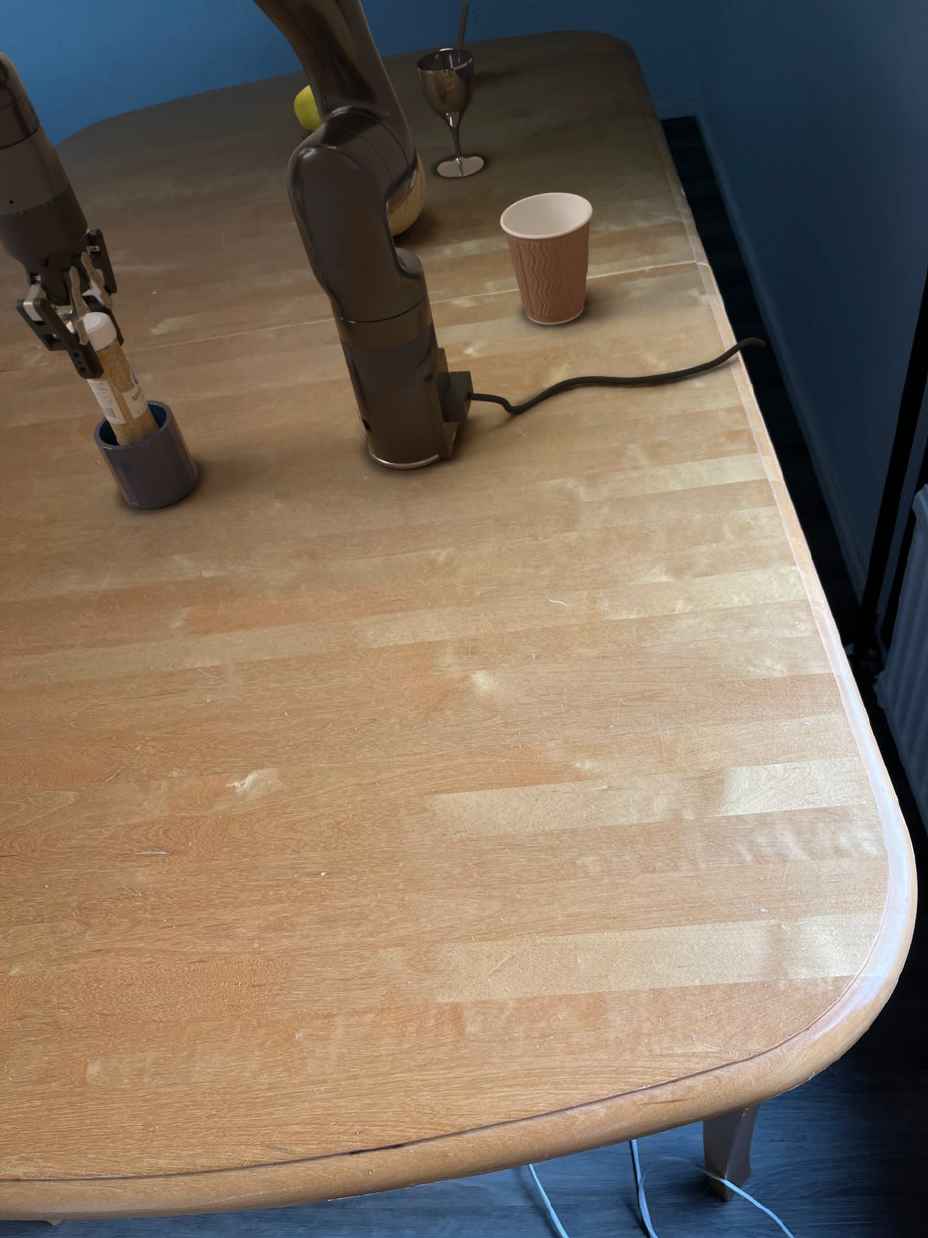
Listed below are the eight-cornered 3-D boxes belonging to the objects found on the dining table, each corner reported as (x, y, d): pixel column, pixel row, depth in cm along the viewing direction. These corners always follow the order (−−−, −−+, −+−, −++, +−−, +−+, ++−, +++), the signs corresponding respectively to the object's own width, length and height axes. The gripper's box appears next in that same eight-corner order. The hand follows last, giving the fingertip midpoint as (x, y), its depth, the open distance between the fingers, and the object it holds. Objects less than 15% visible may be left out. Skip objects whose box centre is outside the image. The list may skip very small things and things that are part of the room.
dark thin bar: (428, 101, 174) (415, 23, 165) (424, 88, 178) (411, 11, 169) (482, 89, 173) (473, 11, 165) (477, 76, 178) (467, 0, 169)
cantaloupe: (373, 272, 135) (347, 159, 125) (310, 243, 144) (281, 134, 133) (456, 226, 141) (438, 114, 130) (391, 200, 149) (369, 93, 139)
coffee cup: (615, 300, 122) (611, 202, 113) (561, 342, 118) (552, 244, 109) (549, 279, 128) (540, 184, 119) (494, 318, 123) (481, 223, 114)
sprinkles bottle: (167, 437, 105) (115, 322, 95) (126, 457, 104) (70, 342, 94) (151, 418, 108) (100, 304, 98) (111, 437, 107) (55, 323, 97)
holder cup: (207, 459, 112) (182, 398, 106) (183, 508, 107) (155, 447, 101) (139, 460, 114) (111, 401, 108) (112, 509, 109) (81, 450, 103)
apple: (353, 138, 167) (342, 87, 161) (299, 146, 168) (286, 96, 162) (357, 119, 172) (346, 69, 167) (305, 127, 174) (292, 77, 168)
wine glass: (496, 157, 154) (483, 50, 143) (468, 180, 150) (452, 72, 139) (452, 152, 158) (436, 47, 147) (424, 175, 154) (405, 68, 143)
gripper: (26, 226, 81) (111, 403, 94) (96, 148, 91) (164, 318, 103) (-56, 233, 83) (38, 406, 95) (21, 155, 92) (97, 322, 105)
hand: (103, 360), depth 99 cm, fingers closed on sprinkles bottle, 4 cm apart
